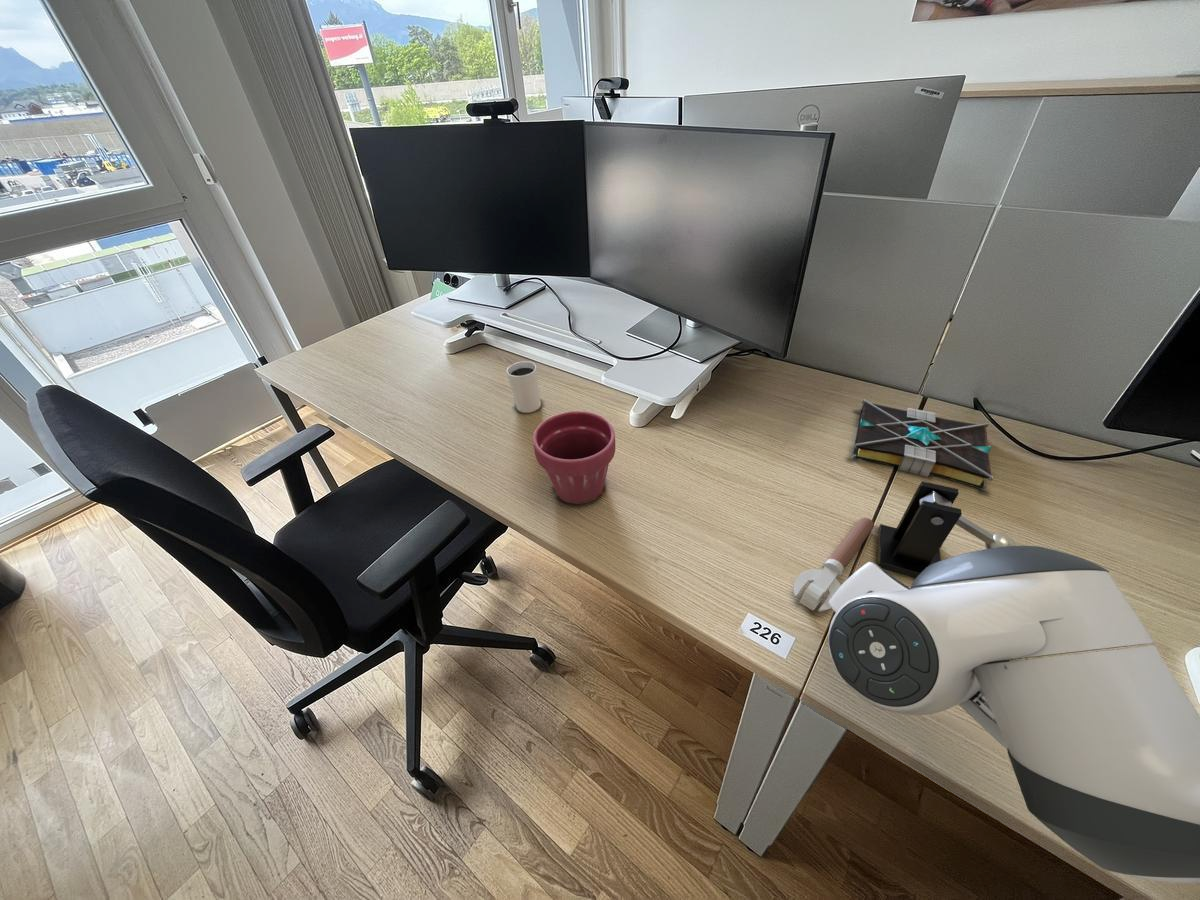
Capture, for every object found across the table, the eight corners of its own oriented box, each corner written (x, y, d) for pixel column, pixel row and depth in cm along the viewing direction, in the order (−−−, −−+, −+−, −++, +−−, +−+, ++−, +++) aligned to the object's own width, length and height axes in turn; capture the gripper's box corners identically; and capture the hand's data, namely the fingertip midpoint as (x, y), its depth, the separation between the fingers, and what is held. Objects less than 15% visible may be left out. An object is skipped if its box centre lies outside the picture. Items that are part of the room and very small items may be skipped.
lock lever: (997, 547, 65) (1019, 537, 63) (1000, 565, 63) (1024, 555, 61) (916, 498, 66) (935, 486, 64) (917, 514, 64) (937, 502, 61)
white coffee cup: (517, 416, 106) (509, 379, 100) (512, 401, 111) (504, 365, 105) (545, 409, 108) (539, 372, 101) (539, 395, 112) (532, 358, 106)
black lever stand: (935, 543, 72) (972, 485, 64) (939, 584, 67) (980, 526, 58) (878, 528, 75) (906, 471, 67) (877, 566, 70) (908, 509, 61)
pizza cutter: (838, 514, 78) (843, 502, 76) (876, 531, 75) (882, 519, 73) (785, 599, 66) (789, 587, 65) (827, 623, 63) (833, 611, 61)
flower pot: (632, 479, 88) (630, 425, 79) (587, 526, 79) (580, 472, 71) (574, 453, 95) (567, 401, 87) (527, 494, 86) (514, 441, 78)
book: (980, 437, 90) (992, 416, 87) (986, 493, 79) (1000, 472, 76) (857, 412, 99) (864, 392, 96) (848, 459, 88) (855, 439, 85)
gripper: (1088, 743, 34) (1083, 724, 43) (856, 549, 49) (890, 566, 58) (1020, 794, 36) (1029, 765, 45) (815, 591, 50) (854, 601, 59)
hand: (949, 652), depth 51 cm, fingers open, 8 cm apart
